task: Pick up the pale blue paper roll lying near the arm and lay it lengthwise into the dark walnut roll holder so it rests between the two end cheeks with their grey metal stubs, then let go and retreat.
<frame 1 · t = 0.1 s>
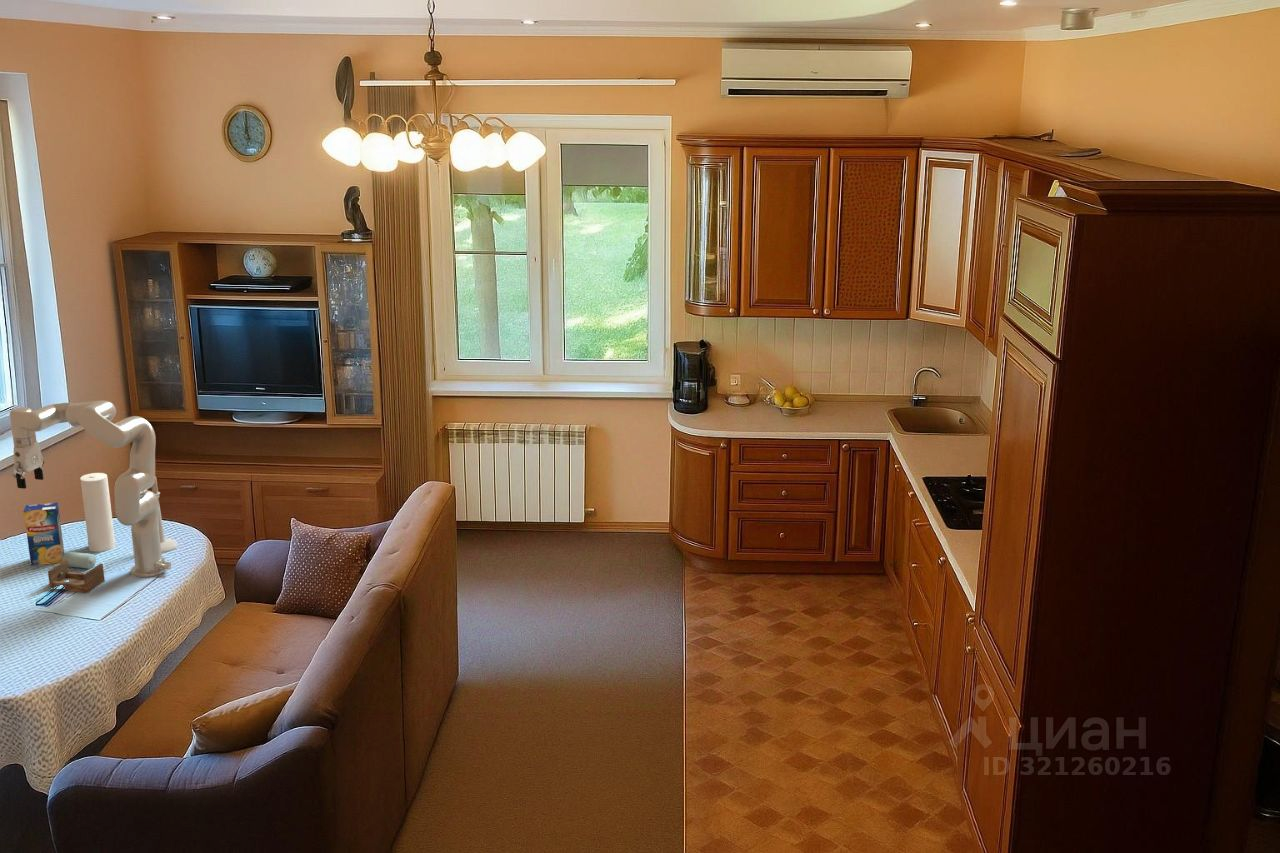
hand: (30, 483, 420), 31 cm above the table, fingers open, 9 cm apart
cylinder container: (102, 547, 442), on the table
roll: (79, 566, 424), on the table
beverage box: (48, 560, 428), on the table
candlestick: (160, 547, 444), on the table
holder: (77, 584, 409), on the table
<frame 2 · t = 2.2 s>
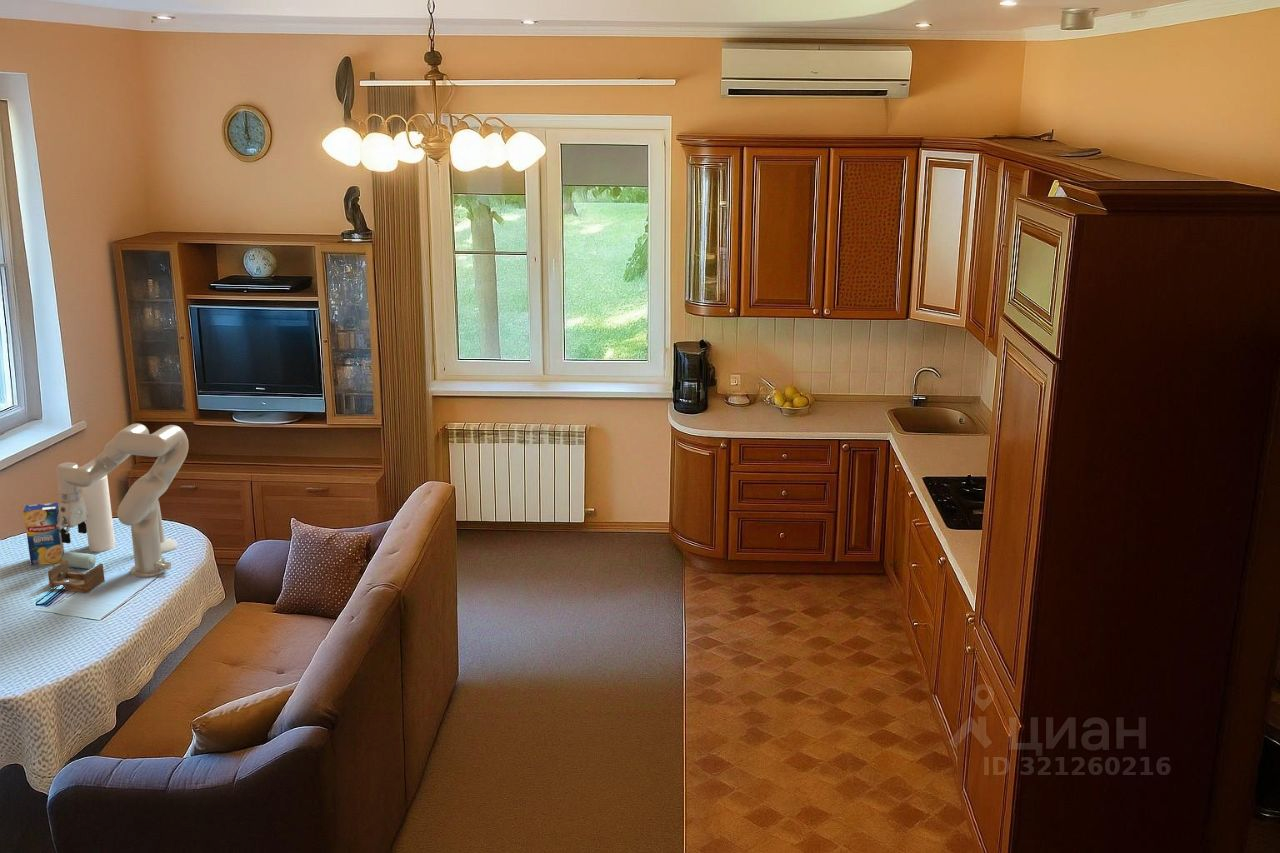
hand: (74, 537, 421), 12 cm above the table, fingers open, 9 cm apart
nothing on the table moved.
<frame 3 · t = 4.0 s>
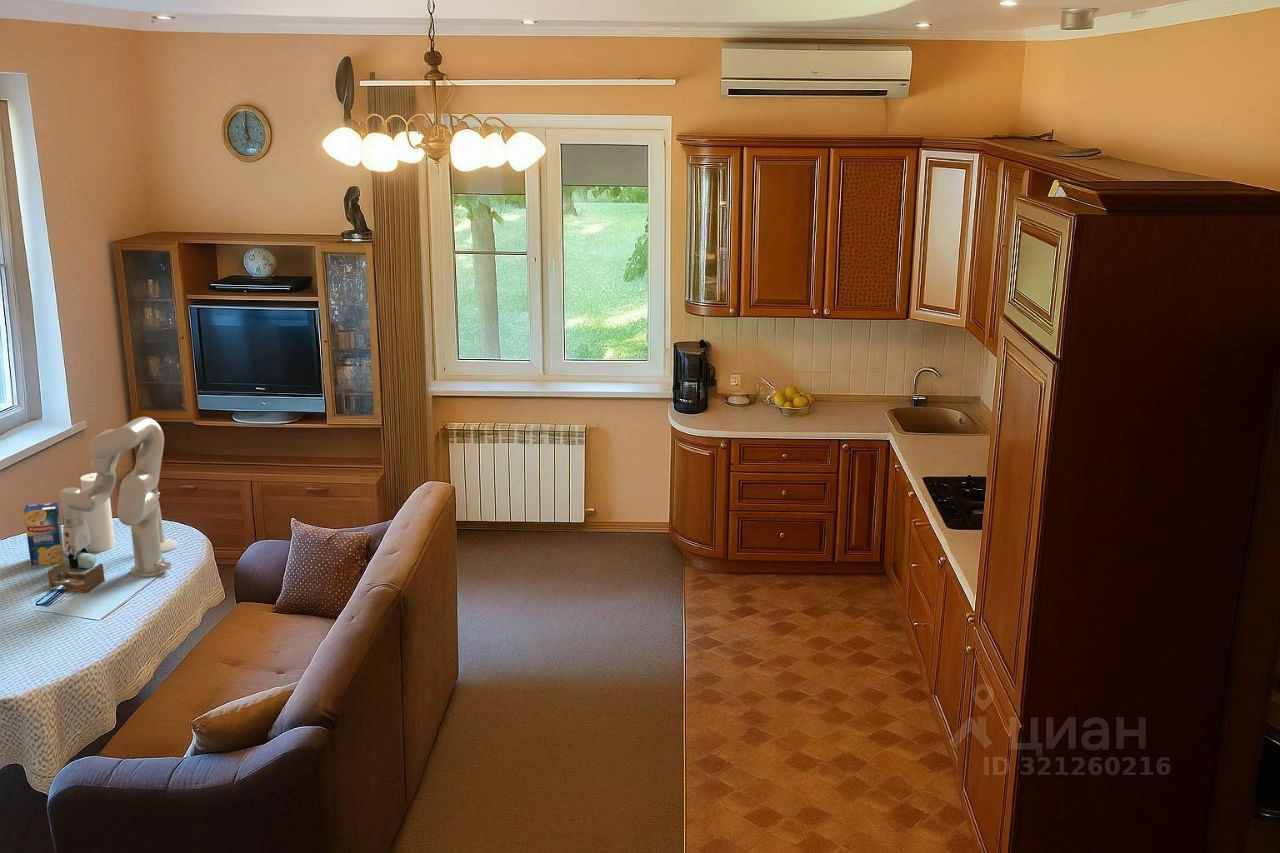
hand: (79, 564, 424), 1 cm above the table, fingers closed on roll, 5 cm apart
roll: (80, 566, 424), on the table, touching gripper
everything else where it was.
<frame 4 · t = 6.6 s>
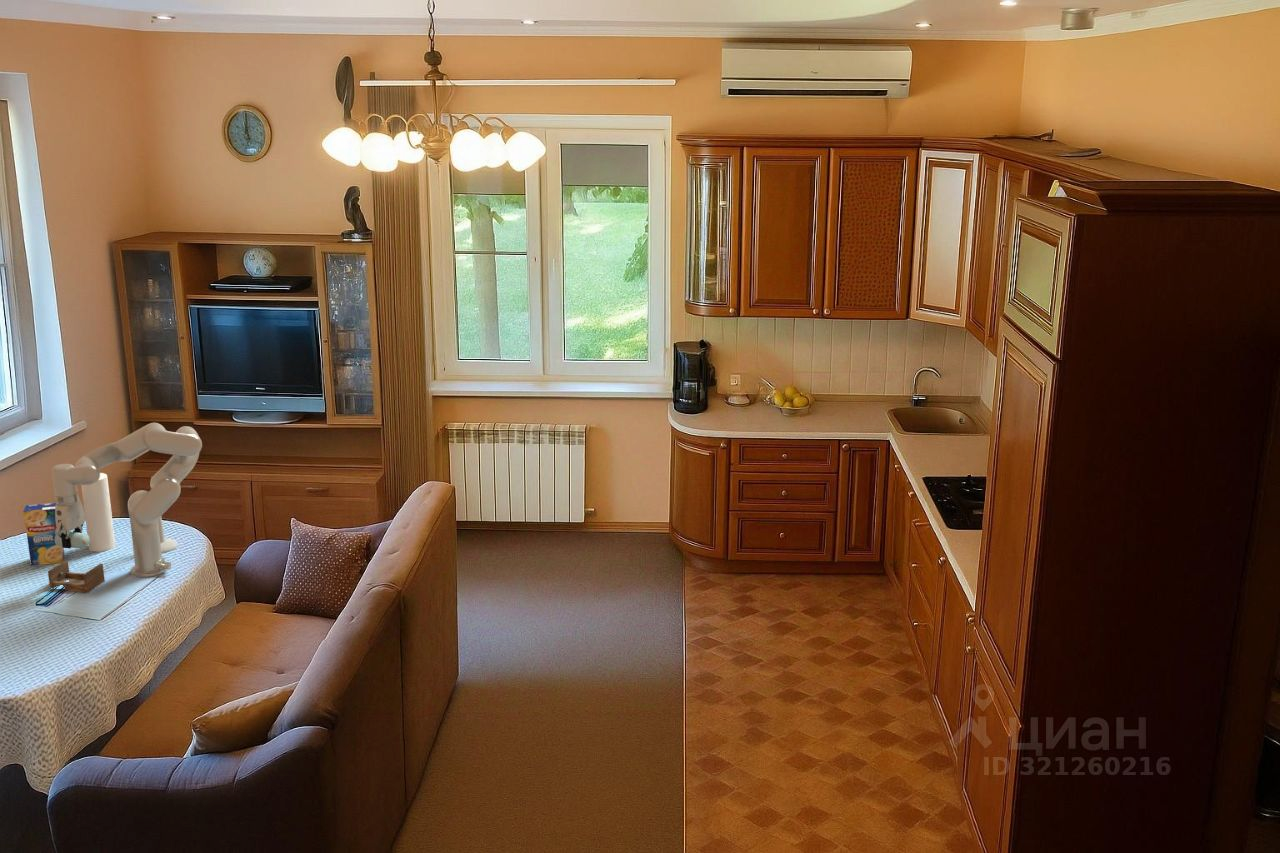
hand: (72, 544, 406), 15 cm above the table, fingers closed on roll, 5 cm apart
roll: (73, 546, 407), point 14 cm above the table, touching gripper
everything else where it was.
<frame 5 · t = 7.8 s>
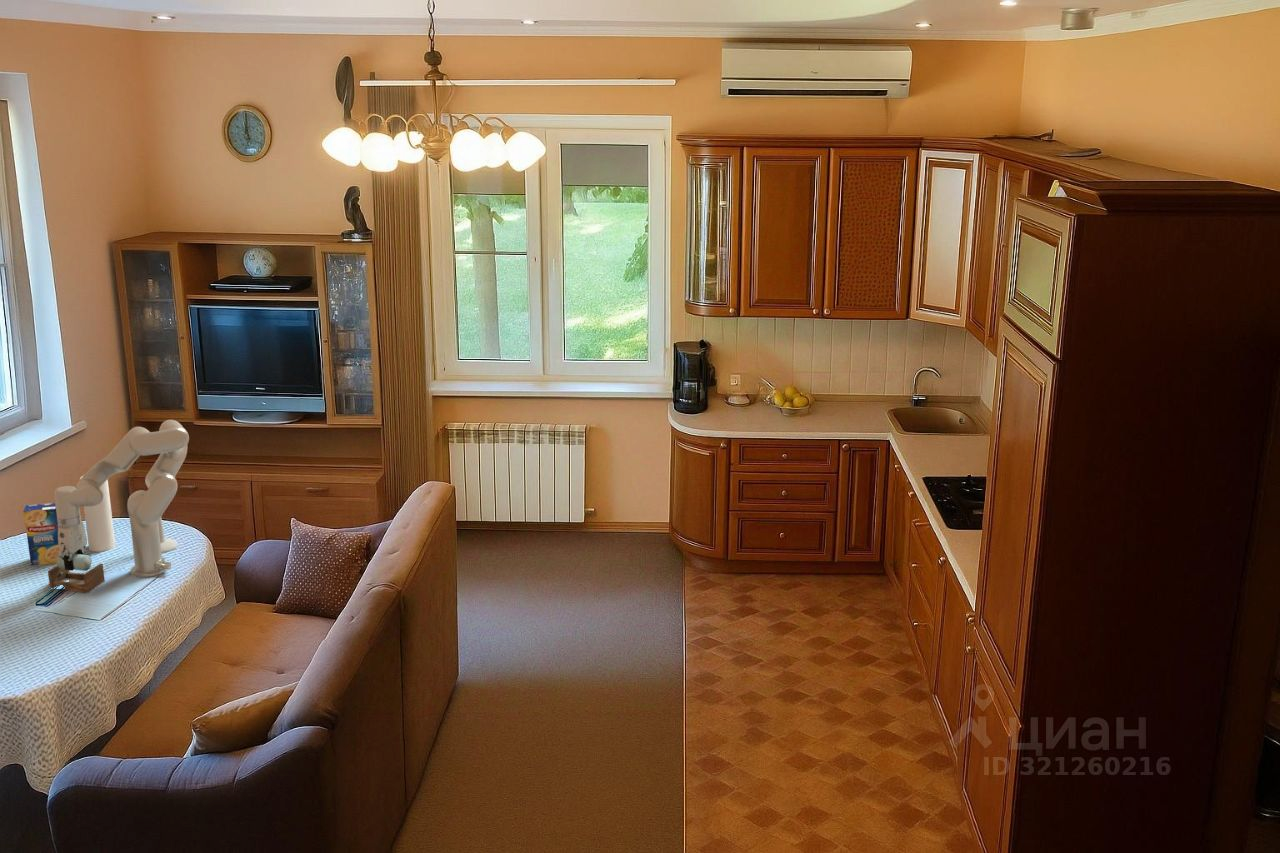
hand: (74, 565, 407), 8 cm above the table, fingers closed on roll, 5 cm apart
roll: (75, 568, 407), point 7 cm above the table, touching gripper
everything else where it was.
when the fingers open (4 cm above the table, at t = 9.0 s): roll drops 2 cm, resting on holder.
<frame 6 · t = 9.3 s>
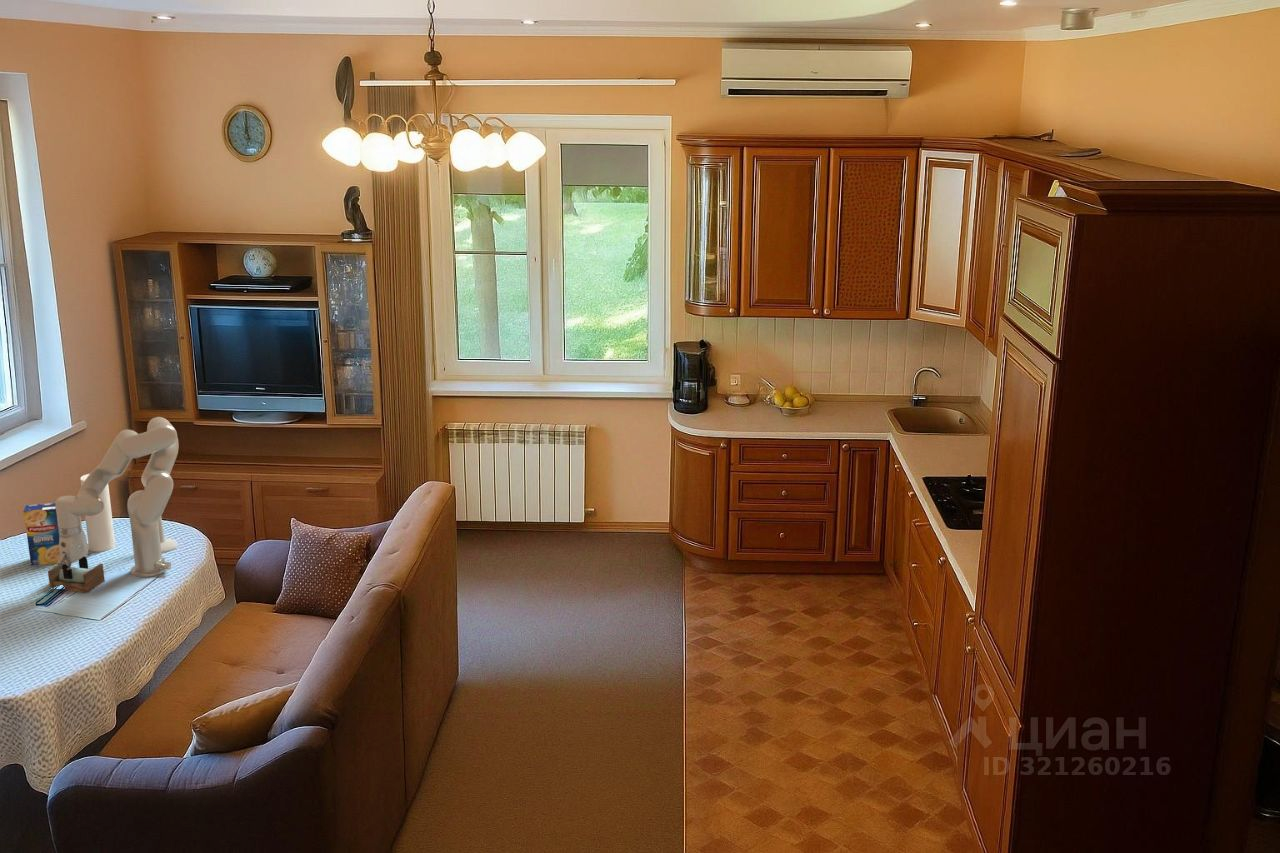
hand: (76, 573, 408), 5 cm above the table, fingers open, 8 cm apart
roll: (77, 582, 409), point 1 cm above the table, touching holder
everything else where it was.
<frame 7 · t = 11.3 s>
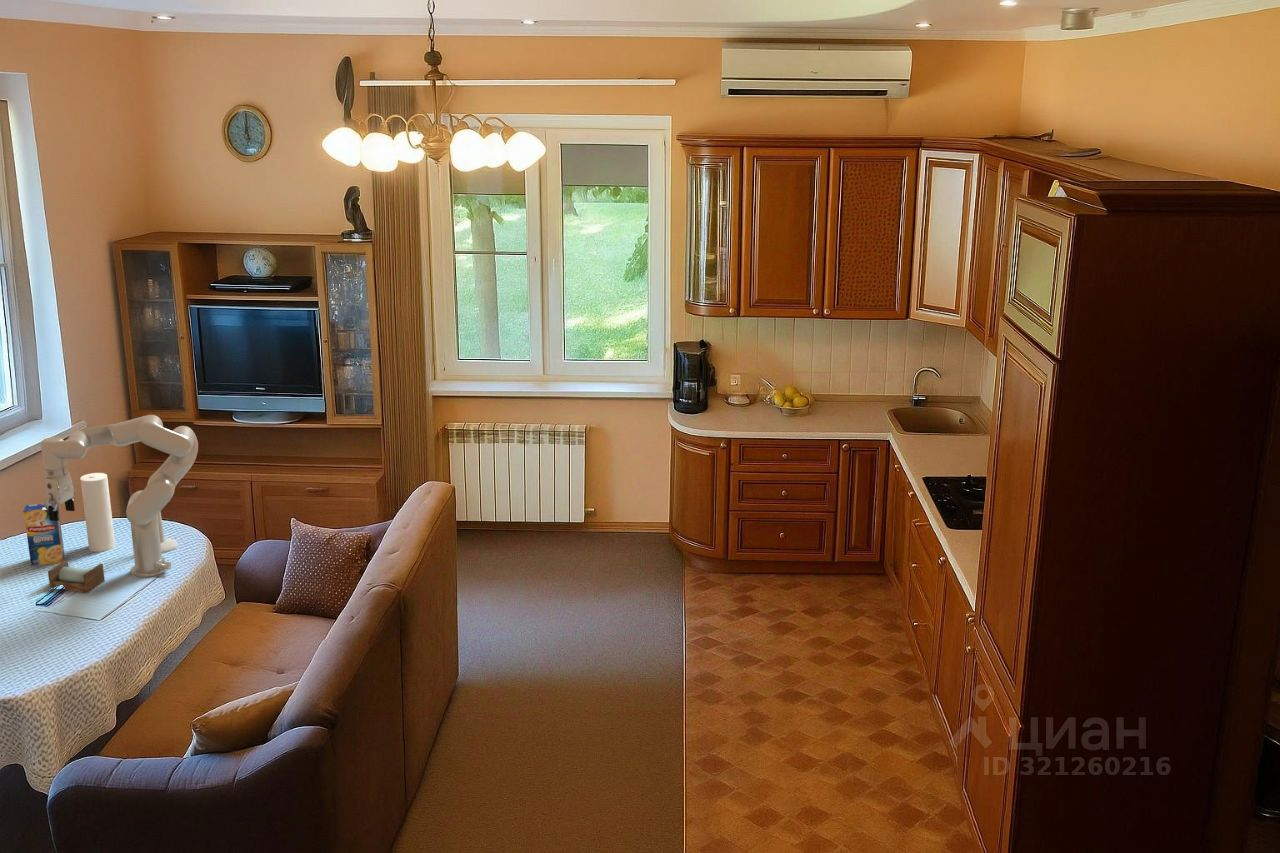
hand: (62, 515, 407), 25 cm above the table, fingers open, 9 cm apart
nothing on the table moved.
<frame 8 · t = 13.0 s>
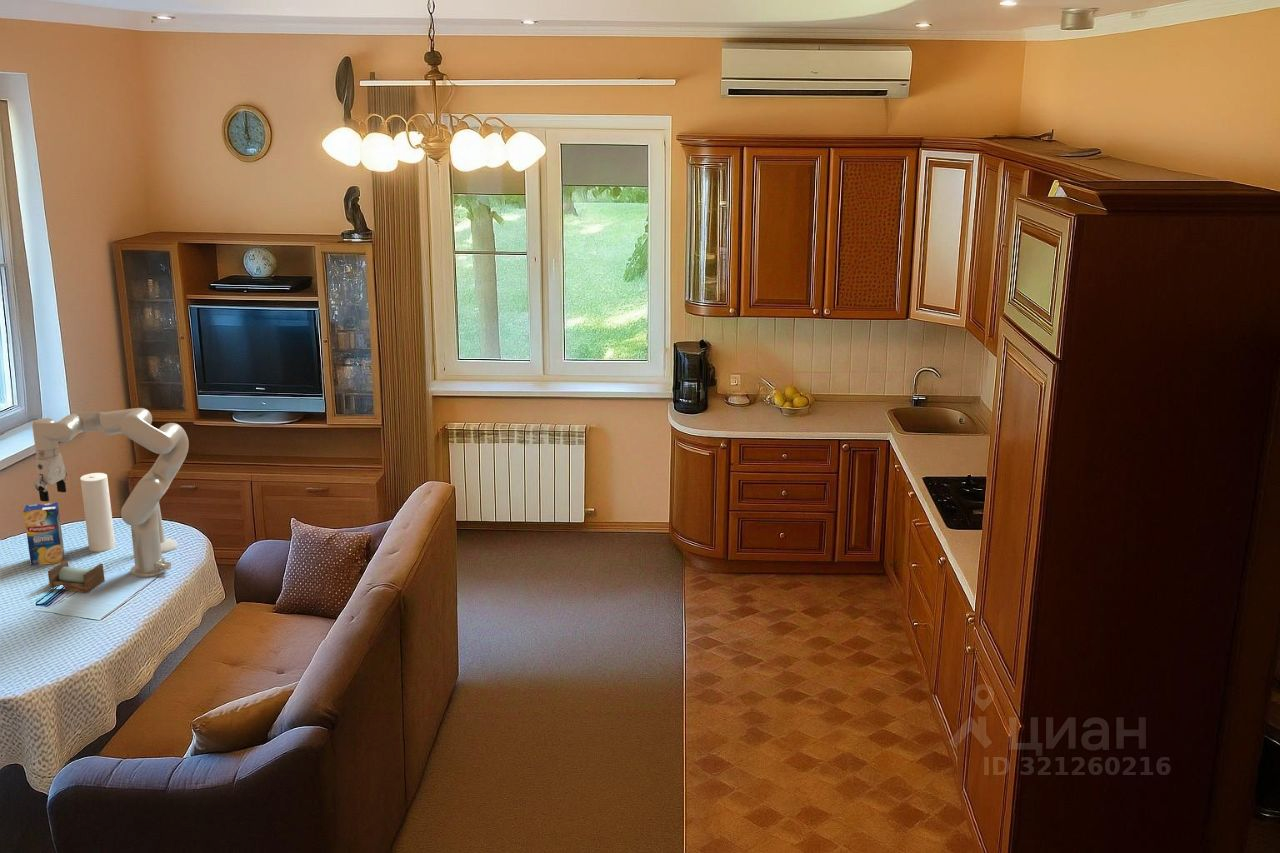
hand: (53, 496, 410), 30 cm above the table, fingers open, 9 cm apart
nothing on the table moved.
at the end: roll 0.1 cm off-centre on the holder, point 1.0 cm above the holder's base; the gripper is holding nothing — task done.
